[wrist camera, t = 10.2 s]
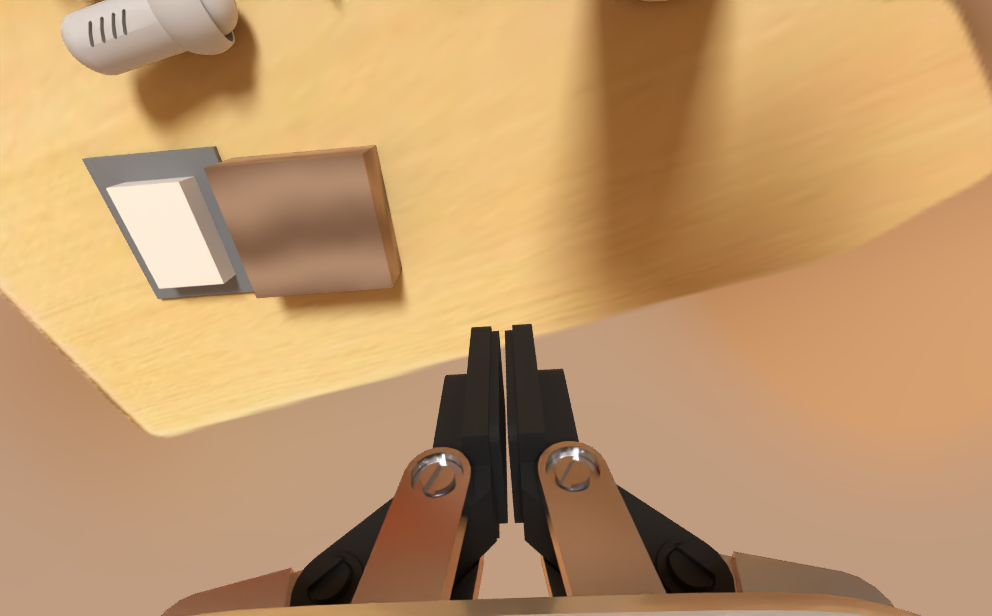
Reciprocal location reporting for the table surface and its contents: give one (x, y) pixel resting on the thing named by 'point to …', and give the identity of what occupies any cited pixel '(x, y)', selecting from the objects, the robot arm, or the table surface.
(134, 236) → the tile
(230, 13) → the clip-on lamp
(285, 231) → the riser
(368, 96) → the table surface
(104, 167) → the mat
